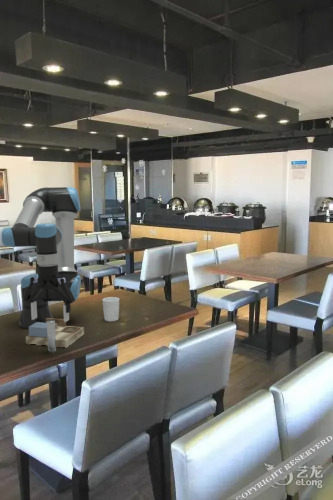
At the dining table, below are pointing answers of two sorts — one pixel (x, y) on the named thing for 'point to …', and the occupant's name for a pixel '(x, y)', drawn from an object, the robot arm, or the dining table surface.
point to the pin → (51, 335)
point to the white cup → (111, 308)
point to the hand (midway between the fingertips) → (50, 319)
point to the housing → (38, 329)
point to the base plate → (59, 334)
